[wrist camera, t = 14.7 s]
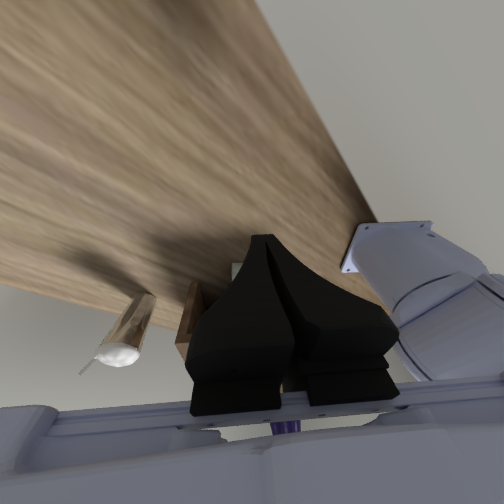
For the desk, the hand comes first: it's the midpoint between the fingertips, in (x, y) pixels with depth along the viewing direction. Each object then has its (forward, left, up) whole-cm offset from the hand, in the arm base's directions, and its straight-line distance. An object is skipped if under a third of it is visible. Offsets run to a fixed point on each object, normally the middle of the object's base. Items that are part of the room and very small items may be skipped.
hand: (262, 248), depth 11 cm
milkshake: (+17, +16, -10) cm, 25 cm away
